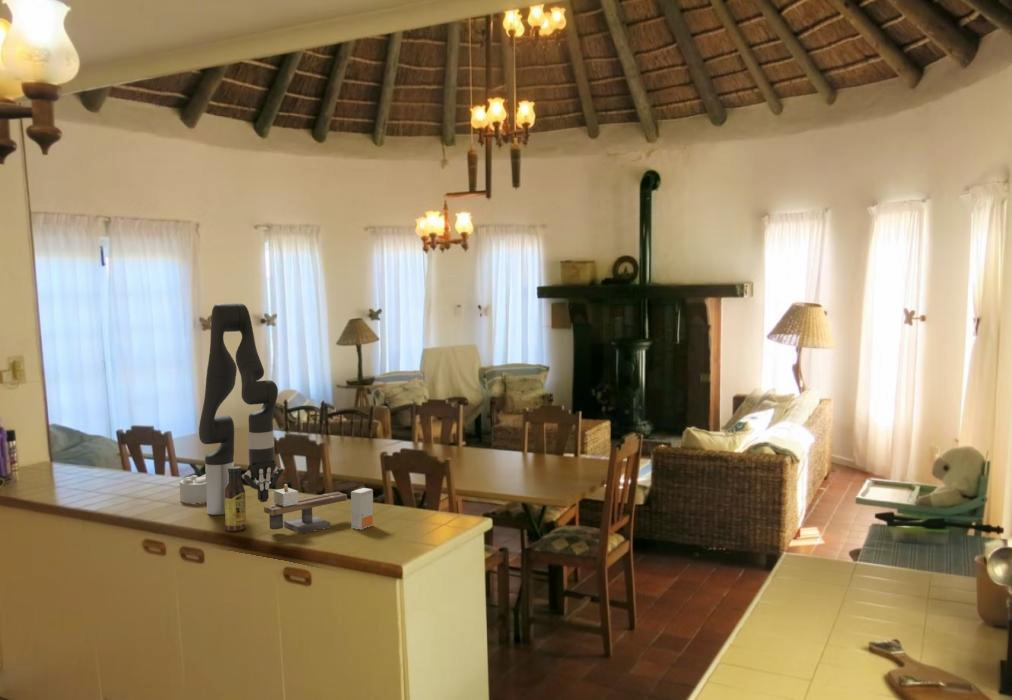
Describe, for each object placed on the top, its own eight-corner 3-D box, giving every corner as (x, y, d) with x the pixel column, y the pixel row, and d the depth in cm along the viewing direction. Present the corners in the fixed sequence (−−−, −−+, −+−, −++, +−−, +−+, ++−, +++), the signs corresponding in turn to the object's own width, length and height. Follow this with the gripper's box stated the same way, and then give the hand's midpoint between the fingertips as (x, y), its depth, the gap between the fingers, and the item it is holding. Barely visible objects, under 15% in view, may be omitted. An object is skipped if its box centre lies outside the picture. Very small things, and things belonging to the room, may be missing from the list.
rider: (274, 508, 239) (273, 484, 239) (289, 505, 243) (288, 481, 242) (283, 512, 235) (283, 487, 234) (298, 509, 238) (297, 484, 238)
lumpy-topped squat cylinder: (198, 505, 273) (197, 481, 272) (172, 501, 278) (171, 478, 278) (220, 498, 282) (219, 475, 281) (195, 494, 288) (194, 472, 287)
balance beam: (260, 531, 239) (259, 504, 239) (333, 515, 257) (332, 489, 257) (278, 539, 231) (277, 511, 230) (352, 522, 248) (351, 496, 248)
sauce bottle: (239, 532, 238) (237, 470, 237) (221, 531, 240) (219, 469, 239) (250, 526, 245) (248, 465, 244) (232, 525, 246) (230, 465, 245)
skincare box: (361, 530, 239) (360, 493, 238) (351, 528, 241) (350, 491, 241) (374, 525, 244) (373, 489, 244) (364, 523, 246) (363, 487, 246)
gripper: (276, 441, 240) (277, 495, 241) (235, 447, 231) (237, 503, 232) (287, 444, 234) (288, 499, 235) (245, 450, 225) (247, 507, 226)
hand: (263, 501), depth 233 cm, fingers closed
